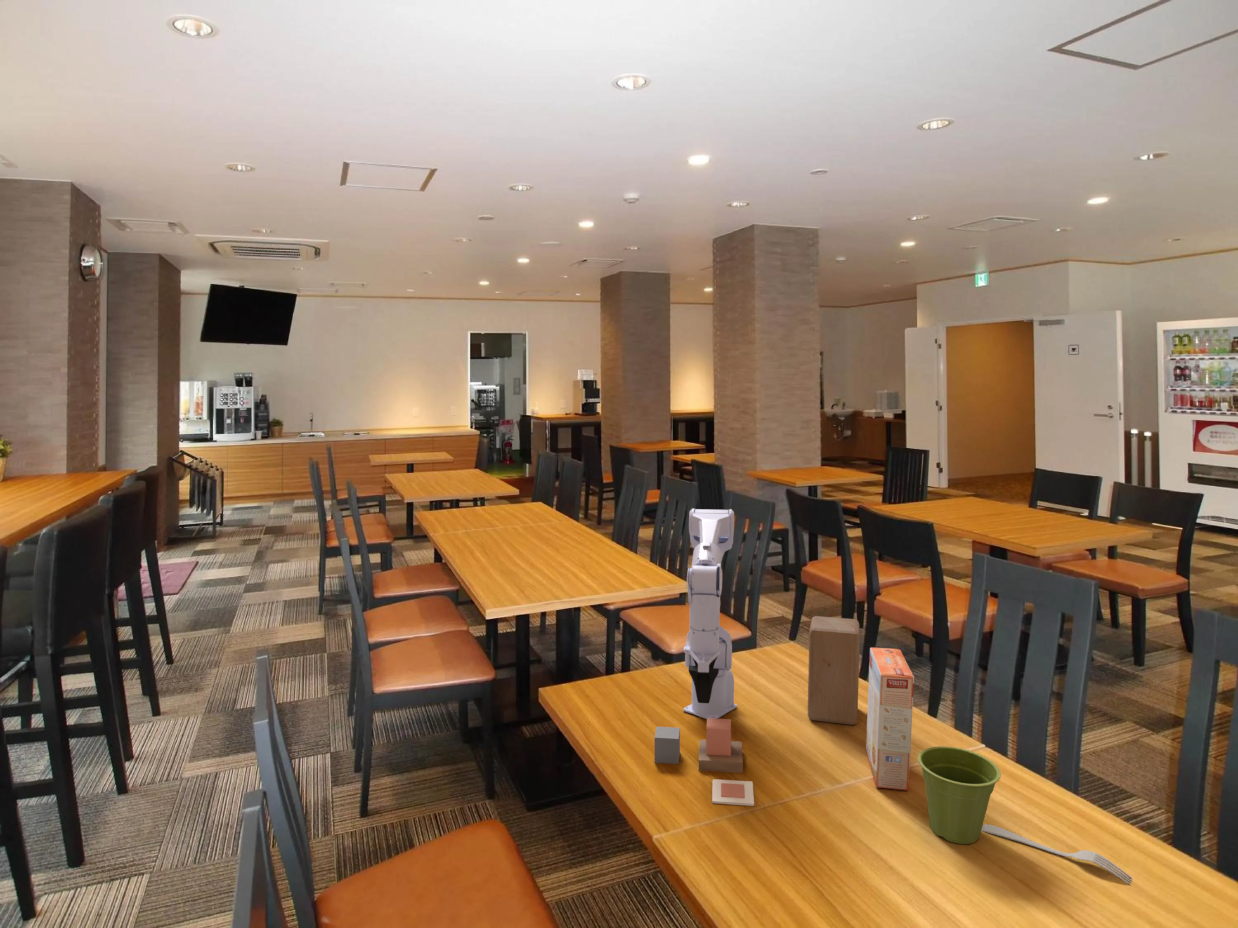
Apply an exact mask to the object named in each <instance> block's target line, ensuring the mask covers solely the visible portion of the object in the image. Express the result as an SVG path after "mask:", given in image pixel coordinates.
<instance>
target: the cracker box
mask: <svg viewBox="0 0 1238 928" xmlns="http://www.w3.org/2000/svg"><path fill="white" fill-rule="evenodd" d="M868 662H869V663H868V664H869V665H868V691H867V694H868V696H867V715H866V716H867V719H866V736H865V737H866V740H865V741H866V742H865V752H866V756H867V760H868V763H869V766H870V770H871V773H872V774H871V775H872V778H873V781H874V785H875V788H879V789H890V790H899V791H900V790H901V791H909V788H910V787H909V786H910V770H911V769H910V768H911V767H910V766H911V750H912V749H911V748H912V747H911V746H912V745H911V744H912V731H913V730H912V727H913V708H914V707H913V706H914V691H915V690H914V689H915V688H914V687H915V676H914V674H913V672H912V670H911V668H910V667H909V664H908V663H907V661H906V659H905V656H904V654H903V652H902V650H901V649H898V648H890V647H889V648H886V647H885V648H884V647H870V648H869V661H868Z"/></svg>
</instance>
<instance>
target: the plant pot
mask: <svg viewBox="0 0 1238 928" xmlns="http://www.w3.org/2000/svg"><path fill="white" fill-rule="evenodd" d="M917 762H918V764H919V766H920V767H921V771H922V776H923V779H924V785H925V794H926V801H927V811H928V812H927V813H928V820H929V826H930V828H931V831H932V832H933V833H934V834H935V835H936V836H938V837H941V838H943V839H945V840H946V841H947V842H950V843H954V844H959V845H969V844H973V843H975V842H976V841H977V840H978V839H980V835H981V833H982V830H981V829H982V827H983V825H984V820H985V816H986V813H987V810H988V807H989V806H988V805H989V803H990V802H989V801H990V798H991V795H992V794H993V792H994V789H995V785H996V783H998V782H999V781H1000V779H1001V776H1002V775H1001V774H1002V773H1001V770H1000V767H998V765H997V764H996V763H994V761H992V760H991V759H989V758H988V757H986V756H983V755H982V754H980V753H977V752H975V751H973V750H969V749H964V748H961V747H955V746H953V747H952V746H945V745H943V746H942V745H941V746H940V745H939V746H932V747H931V746H930V747H927V748H925V749H923V750H921V751H920V752H919V754H918V756H917Z"/></svg>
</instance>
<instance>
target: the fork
mask: <svg viewBox="0 0 1238 928" xmlns="http://www.w3.org/2000/svg"><path fill="white" fill-rule="evenodd" d="M981 832H983V833H987V834H990V835H994V836H998V837H1002V838H1005V839H1008V840H1012V841H1014V842H1015V841H1016V842H1018V843H1022V844H1025V845H1029V846H1031V847H1034V848H1037V849H1039V850H1043V851H1046V852H1048V853H1052V854H1055V855H1059V856H1063V857H1066V858H1067V857H1069V858H1073V859H1074V858H1075V859H1076V860H1081V861H1087V862H1091V863H1094V864H1095V865H1097V866H1100V868H1103V869H1105V870H1106V871H1108V872H1109V873H1110V874H1112V875H1114V876H1115V877H1117V878H1119V879H1120V880H1122V881H1123V882H1124V883H1126V884H1127V885H1129V886H1131V885H1130V884H1133V883H1132V882H1133V879H1132V878H1133V877H1132V876H1131V875H1129V873H1127V872H1126V871H1124V870H1123V869H1122V868H1120V867H1119V866H1118V865H1116V864H1115V863H1113V862H1112V861H1111V860H1109V859H1108V858H1106V857H1104V856H1103V855H1101V854H1099V853H1098V852H1095V851H1091V850H1084V849H1082V850H1079V851H1077V852H1074V853H1072V852H1070V853H1069V852H1064V851H1060V850H1057V849H1054V848H1052V847H1048V846H1045V845H1043V844H1041V843H1038V842H1036V841H1033V840H1032V839H1031V840H1030V839H1029V838H1026V837H1024V836H1022V835H1019V834H1017V833H1014V832H1012V831H1010V830H1007V829H1004V828H1002V827H999V826H997V825H993V824H988V823H985V824H984V823H983V825H982V829H981ZM1130 880H1131V881H1130Z"/></svg>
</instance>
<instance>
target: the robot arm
mask: <svg viewBox="0 0 1238 928" xmlns="http://www.w3.org/2000/svg"><path fill="white" fill-rule="evenodd" d="M688 513H689V514H688V515H689V517H688V532H689V539H690V541H689V542H690V543H691V547H692V549H693V553H692V560H691V566H690V567H688V568H687V573H686V574H687V575H686V590H687V594H688V595H687V596H688V597H687V598H688V605H689V631H688V632H687V634H686V643H685V645H684V646H683V649H682V650H683V653H684V654H685V655H684V663H685V664H684V665H685V667H686V668H687V669H688V673H689V676H690V677H691V704H689V705H687V706H685V707H683V711H684V712H685V713H689V714H692V715H694V716H698V717H700V718H703V719H705V720H707V718H713V719H721V717H722V716H725V715H726V714H727V713H730V712H731V711H733V710H734V709H737V707H738V704H737V703H735V697H734V696H735V678H734V674H733V672H732V666H733V664H732V662H733V658H732V657H733V644H732V636H731V633H730V632H729V631H728V630H726V628H724V627H722V626H721V625H720V617H721V616H720V615H721V614H720V613H721V612H720V611H721V607H720V606H721V595H722V590H723V571H722V570H723V569H722V560H723V558H724V554H725V552H727V551H729V550H731V549H732V548H733V544H734V534H735V533H734V532H735V512H734V510H733V509H732V508H730V509H709V508H707V509H705V508H704V509H702V508H701V509H699V508H698V509H697V508H691V509H690V510H689V512H688Z"/></svg>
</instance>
